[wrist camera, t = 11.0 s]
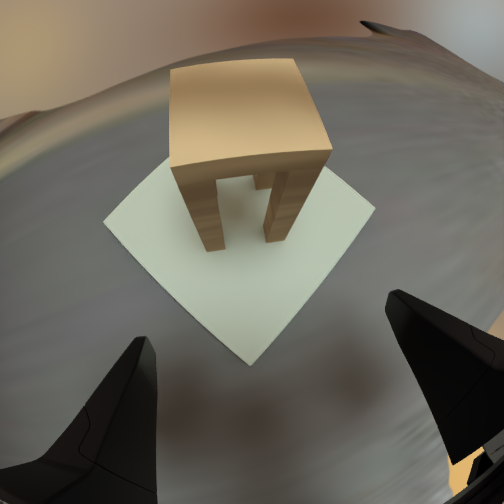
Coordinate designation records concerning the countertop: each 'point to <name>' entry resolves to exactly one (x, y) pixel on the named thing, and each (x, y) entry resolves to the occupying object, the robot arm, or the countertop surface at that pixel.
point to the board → (239, 252)
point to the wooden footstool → (244, 139)
